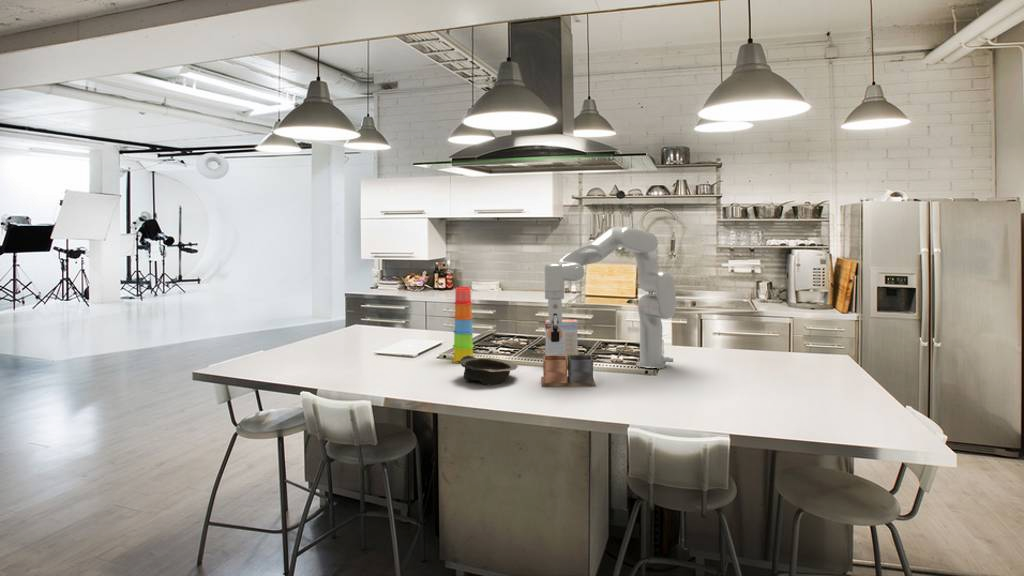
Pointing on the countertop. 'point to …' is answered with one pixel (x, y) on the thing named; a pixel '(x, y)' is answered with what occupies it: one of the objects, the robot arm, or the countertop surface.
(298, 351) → the countertop surface
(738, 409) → the countertop surface
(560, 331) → the ball
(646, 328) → the robot arm
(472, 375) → the stone bowl
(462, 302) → the stacking cups
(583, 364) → the double bin organizer
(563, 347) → the cracker box
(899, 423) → the countertop surface
